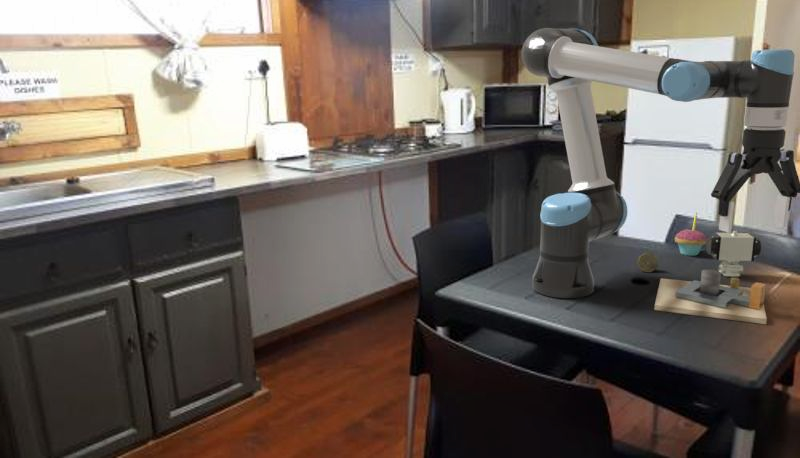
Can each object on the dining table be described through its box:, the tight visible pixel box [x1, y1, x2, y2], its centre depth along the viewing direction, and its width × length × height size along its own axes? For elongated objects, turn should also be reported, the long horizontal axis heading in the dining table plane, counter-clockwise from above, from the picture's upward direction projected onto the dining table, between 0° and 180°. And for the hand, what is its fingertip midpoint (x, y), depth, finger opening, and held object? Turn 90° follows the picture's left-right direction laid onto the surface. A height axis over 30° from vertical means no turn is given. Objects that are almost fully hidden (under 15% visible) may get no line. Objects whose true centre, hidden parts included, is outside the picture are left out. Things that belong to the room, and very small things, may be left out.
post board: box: [654, 269, 768, 325], centre depth 143 cm, size 22×20×7 cm
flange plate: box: [675, 279, 767, 309], centre depth 141 cm, size 16×11×5 cm, turn 44°
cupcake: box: [674, 212, 708, 257], centre depth 180 cm, size 9×8×12 cm
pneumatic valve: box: [706, 230, 762, 278], centre depth 161 cm, size 6×12×12 cm, turn 79°
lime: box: [637, 252, 659, 273], centre depth 167 cm, size 4×5×5 cm
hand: (752, 228), depth 132 cm, fingers open, 13 cm apart
